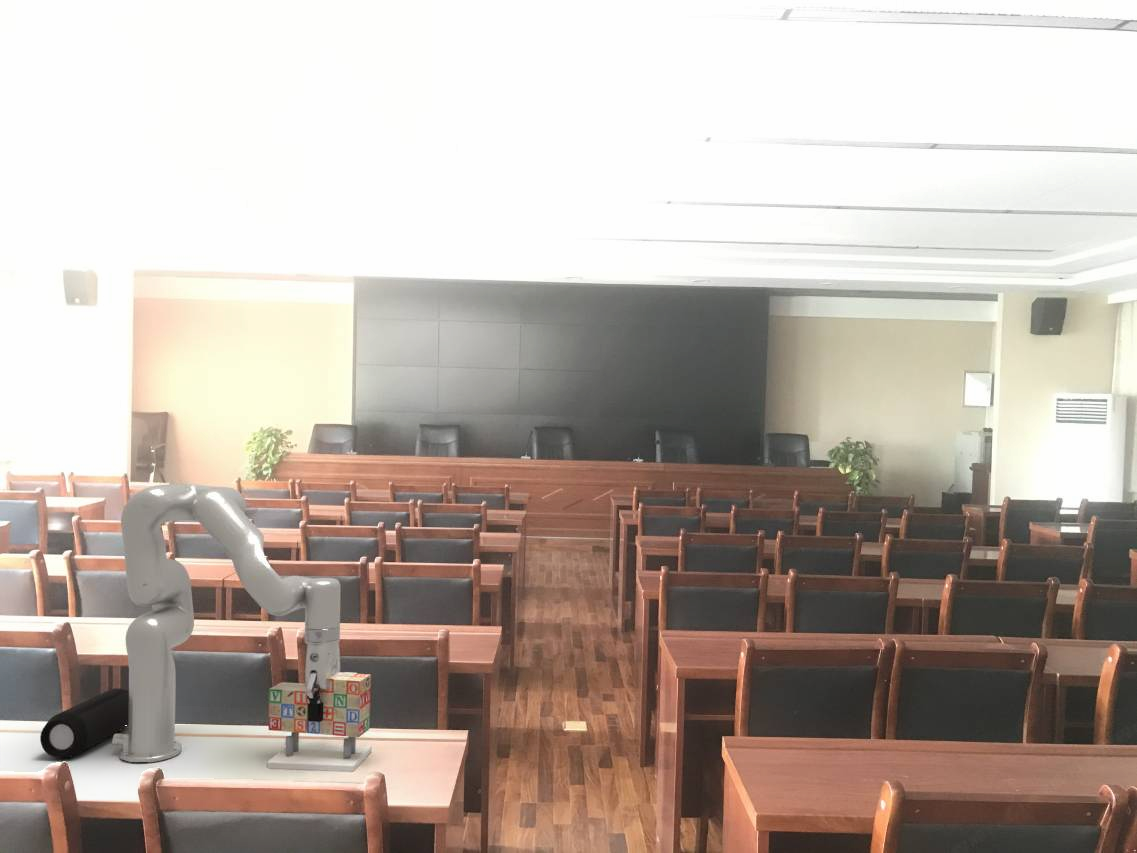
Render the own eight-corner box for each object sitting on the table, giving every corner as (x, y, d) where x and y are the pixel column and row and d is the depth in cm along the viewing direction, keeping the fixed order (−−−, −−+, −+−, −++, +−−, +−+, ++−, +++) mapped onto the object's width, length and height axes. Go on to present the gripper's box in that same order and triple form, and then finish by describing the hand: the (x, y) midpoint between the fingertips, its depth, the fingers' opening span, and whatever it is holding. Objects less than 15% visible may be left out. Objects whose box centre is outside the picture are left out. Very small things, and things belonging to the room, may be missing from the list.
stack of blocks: (267, 731, 202) (268, 674, 202) (281, 723, 208) (282, 668, 209) (359, 737, 198) (360, 680, 199) (370, 729, 205) (371, 673, 205)
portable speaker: (103, 725, 226) (103, 685, 226) (142, 727, 225) (142, 686, 226) (35, 761, 201) (36, 715, 201) (79, 763, 200) (80, 716, 200)
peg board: (266, 768, 197) (267, 743, 198) (290, 748, 210) (290, 725, 211) (353, 771, 196) (353, 747, 196) (371, 751, 209) (371, 728, 209)
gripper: (325, 643, 195) (324, 728, 194) (351, 627, 212) (350, 705, 212) (290, 642, 195) (289, 727, 195) (319, 626, 213) (318, 704, 212)
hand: (321, 715), depth 203 cm, fingers closed on stack of blocks, 6 cm apart
